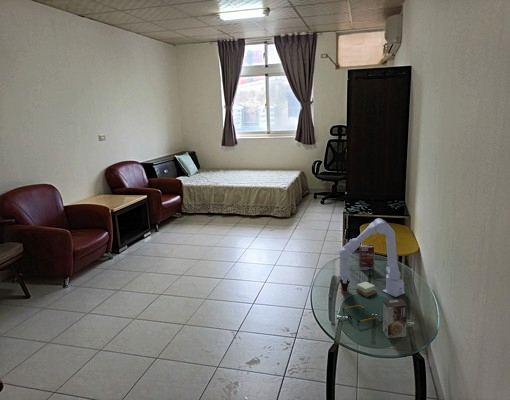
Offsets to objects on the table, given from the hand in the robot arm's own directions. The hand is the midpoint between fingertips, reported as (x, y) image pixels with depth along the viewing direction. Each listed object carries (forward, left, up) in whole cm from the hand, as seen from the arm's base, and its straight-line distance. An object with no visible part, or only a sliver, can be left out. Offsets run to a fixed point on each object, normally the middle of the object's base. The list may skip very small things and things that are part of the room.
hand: (344, 289), depth 223 cm
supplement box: (+15, -35, -2) cm, 38 cm away
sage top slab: (-8, -9, 0) cm, 12 cm away
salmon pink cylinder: (0, 0, -1) cm, 1 cm away
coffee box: (-45, +13, -2) cm, 47 cm away
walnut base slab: (-8, -9, -2) cm, 12 cm away
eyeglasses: (-26, +14, -2) cm, 29 cm away
